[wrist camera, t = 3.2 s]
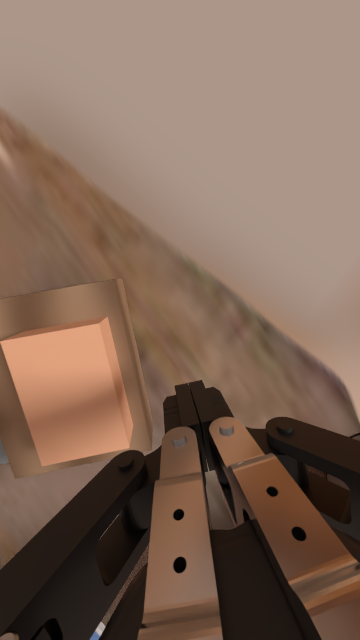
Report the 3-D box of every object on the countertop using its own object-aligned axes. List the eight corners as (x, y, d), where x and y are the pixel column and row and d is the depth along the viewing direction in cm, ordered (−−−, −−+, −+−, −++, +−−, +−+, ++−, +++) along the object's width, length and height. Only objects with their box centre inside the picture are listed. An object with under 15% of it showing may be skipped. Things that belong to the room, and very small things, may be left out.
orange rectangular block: (107, 316, 17) (98, 323, 15) (133, 425, 19) (129, 448, 17) (22, 331, 17) (-1, 341, 14) (57, 441, 19) (41, 466, 16)
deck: (122, 278, 21) (113, 279, 17) (152, 420, 24) (151, 449, 20) (-8, 300, 20) (-48, 307, 16) (39, 443, 23) (15, 478, 19)
